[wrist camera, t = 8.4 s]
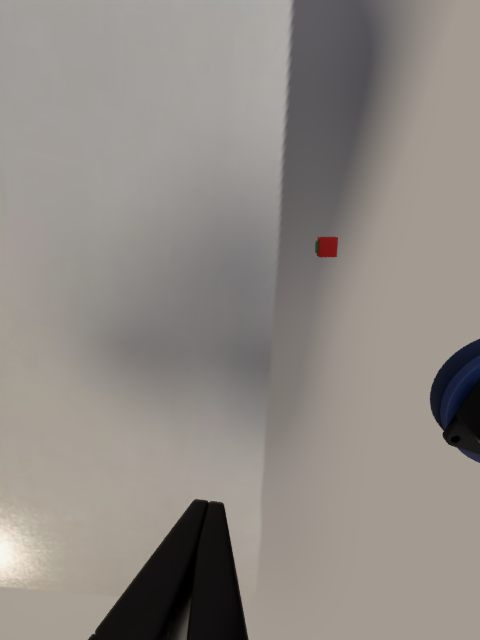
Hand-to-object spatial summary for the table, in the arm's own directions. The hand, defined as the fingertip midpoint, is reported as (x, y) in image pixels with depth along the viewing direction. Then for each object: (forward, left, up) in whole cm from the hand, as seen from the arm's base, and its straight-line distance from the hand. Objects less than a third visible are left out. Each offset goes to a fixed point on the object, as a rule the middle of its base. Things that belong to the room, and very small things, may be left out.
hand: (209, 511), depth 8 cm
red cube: (-16, -6, -74) cm, 76 cm away
